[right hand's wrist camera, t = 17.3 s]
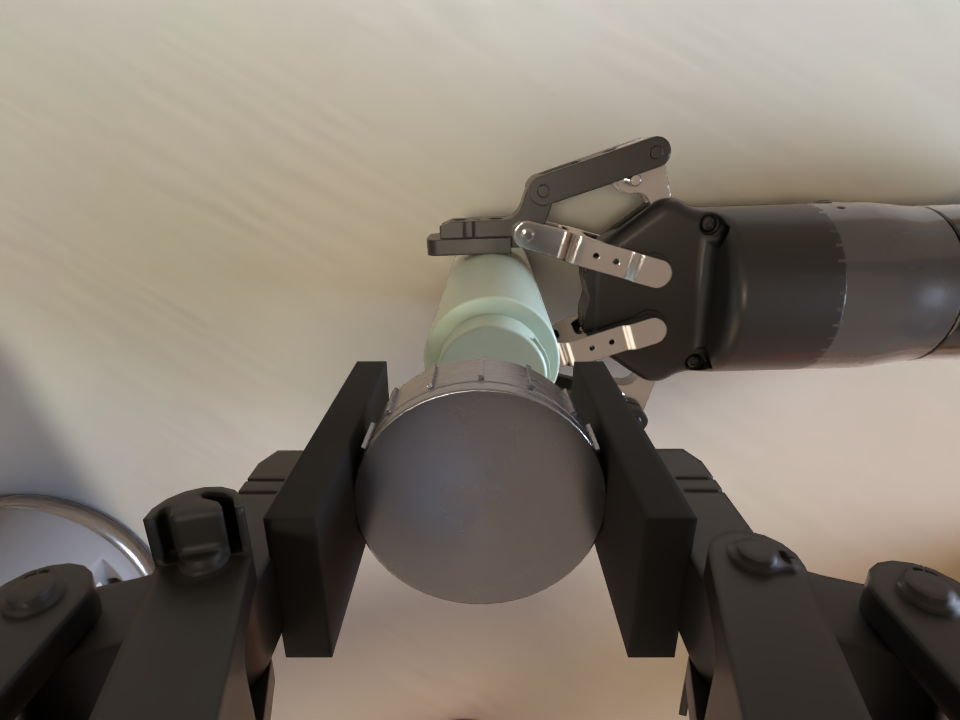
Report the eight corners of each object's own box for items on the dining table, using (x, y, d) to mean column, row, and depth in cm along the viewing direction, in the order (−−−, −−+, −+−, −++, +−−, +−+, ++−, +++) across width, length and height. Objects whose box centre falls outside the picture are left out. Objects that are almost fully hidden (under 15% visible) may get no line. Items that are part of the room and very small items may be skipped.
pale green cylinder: (483, 321, 32) (477, 468, 17) (437, 263, 31) (387, 365, 16) (544, 278, 31) (594, 393, 16) (499, 215, 30) (508, 277, 15)
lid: (516, 310, 11) (522, 335, 9) (633, 489, 12) (654, 536, 11) (320, 432, 12) (296, 474, 10) (450, 586, 13) (446, 640, 12)
